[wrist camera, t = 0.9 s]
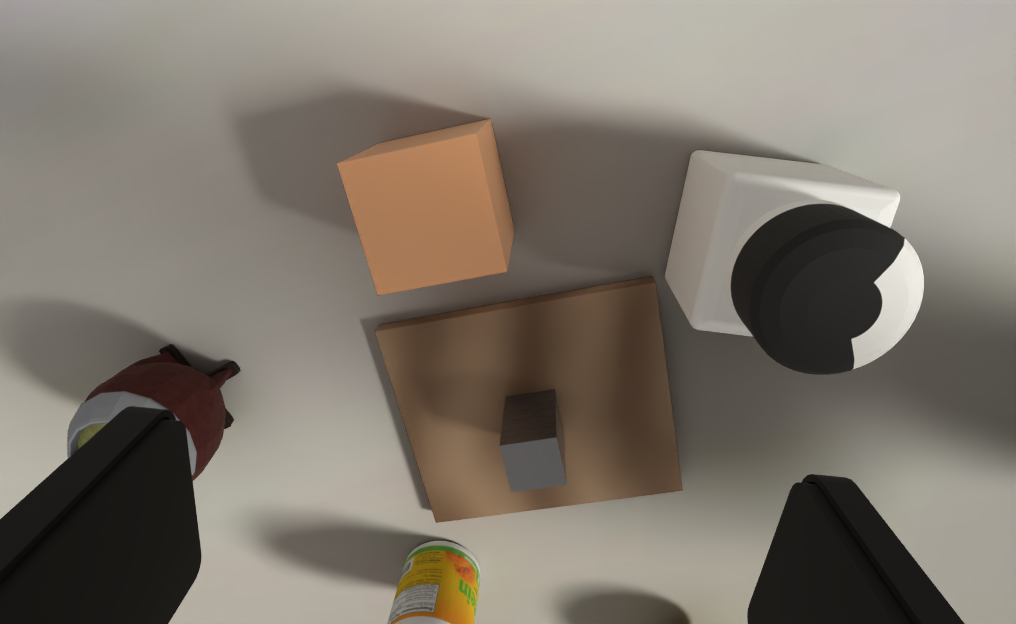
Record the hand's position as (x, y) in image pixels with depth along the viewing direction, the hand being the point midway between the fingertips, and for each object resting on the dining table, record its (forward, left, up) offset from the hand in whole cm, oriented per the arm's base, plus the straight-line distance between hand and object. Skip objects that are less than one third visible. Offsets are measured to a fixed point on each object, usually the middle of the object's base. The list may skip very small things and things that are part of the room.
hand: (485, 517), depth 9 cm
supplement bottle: (+11, +25, -25) cm, 37 cm away
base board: (+2, +13, -25) cm, 28 cm away
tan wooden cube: (+4, -1, -25) cm, 25 cm away
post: (+2, +13, -25) cm, 28 cm away
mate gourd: (+22, +8, -25) cm, 34 cm away
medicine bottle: (-11, +4, -25) cm, 28 cm away
